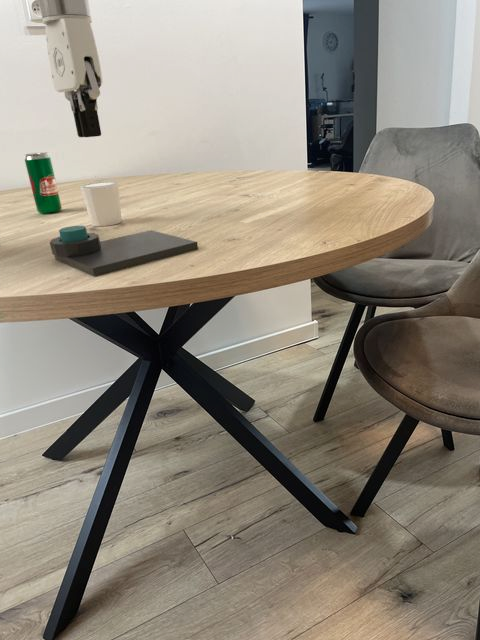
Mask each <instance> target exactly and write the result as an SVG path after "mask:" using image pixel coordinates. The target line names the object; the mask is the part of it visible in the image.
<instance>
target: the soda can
mask: <svg viewBox="0 0 480 640" xmlns="http://www.w3.org/2000/svg"><path fill="white" fill-rule="evenodd" d="M24 155H25V157H24V164H25V168H26V171H27V175H28V180H29V183H30V187H31V191H32V196H33V199H34V204H35V207H36V211H37V212H38V213H39V214H41V215H50V214H56V213H60V212H61V210H62V208H63V206H62V202H61V198H60V194H59V189H58V185H57V180H56V175H55V171H54V167H53V162H52V158H51V156H49V154H48V152H46V151H41V152H39V151H38V152H28V153H25V154H24Z"/></svg>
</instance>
